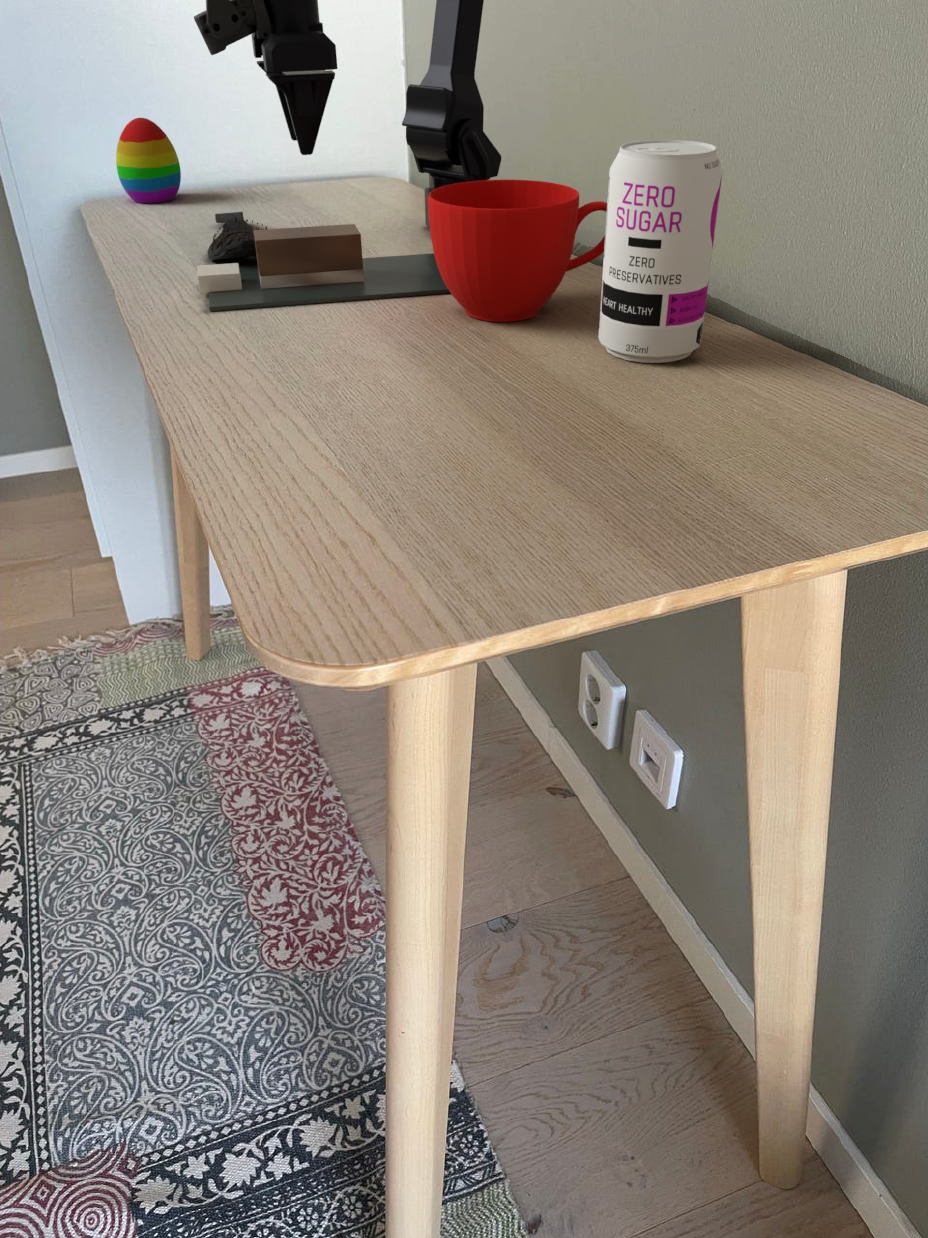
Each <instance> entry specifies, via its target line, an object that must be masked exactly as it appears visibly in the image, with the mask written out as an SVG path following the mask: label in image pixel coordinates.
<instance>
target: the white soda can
mask: <svg viewBox="0 0 928 1238" xmlns="http://www.w3.org/2000/svg"><path fill="white" fill-rule="evenodd" d="M717 150H718V147H717V146H715V144H710V143H706V142H703V141H694V140H684V139H683V140H682V139H648V140H647V139H646V140H644V139H643V140H636V141H629V142H625V143H622V144H620V146H619V151H618V153H617V155H616V156H615V158H614V160H613V162H612V164H611V166H610V167H609V170H608V171H609V173H608V174H609V175H608V186H607V187H608V189H607V201H606V203H607V212H606V217H605V231H604V236H605V246H604V252H603V262H602V263H603V264H602V275H601V276H602V278H601V279H602V280H601V291H600V292H601V293H600V305H599V306H600V308H599V320H598V321H599V322H598V336H597V338H598V341H599V343H600V344H601V345H602V346H603V347H605V350H606V352H607V353H609V354H610V355H612V356H614V357H617V358H619V359H621V360H626V361H630V362H635V363H643V364H644V363H647V364H660V363H672V362H676V361H681V360H684V359H686V358H688V357H689V356H691V354H692V352H693V351H695V350H697V349H698V348H700V345H701V342H702V337H703V329H704V323H705V322H704V321H705V312H706V305H707V297H708V289H709V284H710V283H709V282H710V274H711V268H712V267H711V265H712V259H713V251H714V242H715V234H716V226H717V220H718V211H719V203H720V196H721V195H720V194H721V187H722V181H723V173H724V172H723V171H724V170H723V167H722V165H721V161H720V159H719V156H718V153H717Z"/></svg>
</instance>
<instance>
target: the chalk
mask: <svg viewBox="0 0 928 1238" xmlns="http://www.w3.org/2000/svg"><path fill="white" fill-rule="evenodd" d="M239 267H240V263H239V262H231V263H229V262H228V263H217V264H205V265H204V264H202V265H201V264H200V265H197V267H196V268H197V273H196V274H197V281H198V289H199V293H200V294H203V293H204V294H205V293H209V292H219V291H233V290H242V283H241V276H240V269H239Z"/></svg>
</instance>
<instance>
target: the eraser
mask: <svg viewBox="0 0 928 1238" xmlns="http://www.w3.org/2000/svg"><path fill="white" fill-rule="evenodd" d="M253 232H254V240H255V248H256V256H255V257H256V262H257V263H256V265H258V272H259V279H260V284H261V289H269V288H283V287H297V286H311V285H324V284H338V283H352V282H364V274H363V260H362V258H363V248H362V234H361V231H360V230H359V228H358V227H357V226H356V224H355V223H349V224H333V225H331V224H330V225H316V226H315V225H314V226H301V227H300V226H298V227H283V228H267V229H265V228H264V230H263V229H262V230H261V229H259V230H258V229H254V230H253Z"/></svg>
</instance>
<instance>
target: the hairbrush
mask: <svg viewBox="0 0 928 1238" xmlns="http://www.w3.org/2000/svg"><path fill="white" fill-rule="evenodd" d="M214 218H215V222H216V223H217V224H224V225H223V228H222V227H218V230H217V231H216V232H215V233H214V234H213V237H212V243H210V245H209V247H208V249H207V257H208V260H209V261H215V260H227V259H238V258H249V257H257V256H256V248H255V240H254V232H253V230H265V229H268V226H265V227H264V228H263V229H262V228H261V229H260V226H258V225H259V222H257V223H256V224H257V226H258V227H256V228H253V225H251V226H250V224H249V223H248V222H249V219H245V218H244V213H243V211H233V212H222V213H215V214H214ZM251 222H252V223H251V224H253V223H254V220H251ZM263 226H264V225H263V223H261V227H263Z"/></svg>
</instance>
